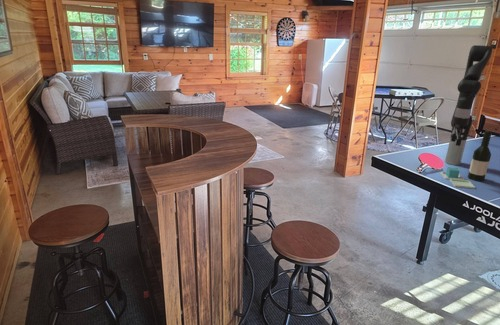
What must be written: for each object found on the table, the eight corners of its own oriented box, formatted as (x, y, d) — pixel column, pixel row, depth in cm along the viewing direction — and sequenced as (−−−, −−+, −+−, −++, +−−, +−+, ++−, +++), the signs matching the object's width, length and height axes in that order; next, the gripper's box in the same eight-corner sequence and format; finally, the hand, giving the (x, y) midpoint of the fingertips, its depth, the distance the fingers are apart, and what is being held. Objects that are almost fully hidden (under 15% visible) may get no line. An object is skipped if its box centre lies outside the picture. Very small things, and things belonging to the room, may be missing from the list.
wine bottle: (477, 176, 198) (490, 128, 188) (487, 182, 191) (501, 132, 180) (464, 176, 198) (476, 128, 188) (473, 182, 190) (486, 132, 180)
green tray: (449, 180, 192) (449, 178, 191) (468, 182, 189) (469, 180, 189) (454, 187, 182) (455, 185, 182) (474, 189, 180) (475, 187, 180)
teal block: (445, 174, 199) (447, 167, 198) (455, 175, 198) (456, 168, 196) (448, 177, 195) (450, 169, 193) (457, 178, 194) (459, 170, 192)
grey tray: (440, 173, 202) (440, 171, 202) (458, 175, 200) (458, 173, 199) (445, 179, 193) (445, 177, 193) (463, 181, 191) (464, 179, 190)
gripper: (450, 113, 193) (444, 139, 199) (458, 118, 180) (452, 146, 186) (464, 114, 191) (458, 140, 197) (474, 119, 179) (466, 147, 184)
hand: (455, 143), depth 192 cm, fingers open, 8 cm apart
